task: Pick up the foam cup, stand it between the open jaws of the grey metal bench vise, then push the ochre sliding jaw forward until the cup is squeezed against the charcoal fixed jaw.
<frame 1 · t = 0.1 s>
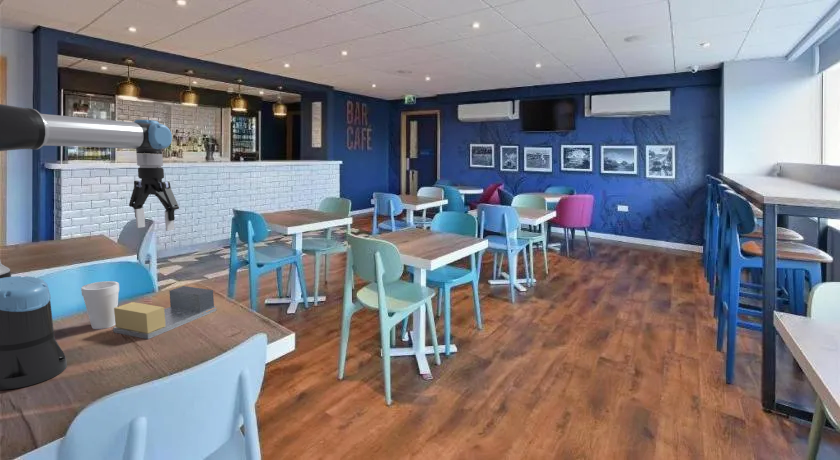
hand: (155, 228, 153), 28 cm above the table, tool pointing down, fingers open, 13 cm apart
vise: (173, 318, 146), on the table
foam cup: (104, 325, 139), on the table
sliding jaw: (140, 317, 134), point 5 cm above the table, slide at 2.5 cm
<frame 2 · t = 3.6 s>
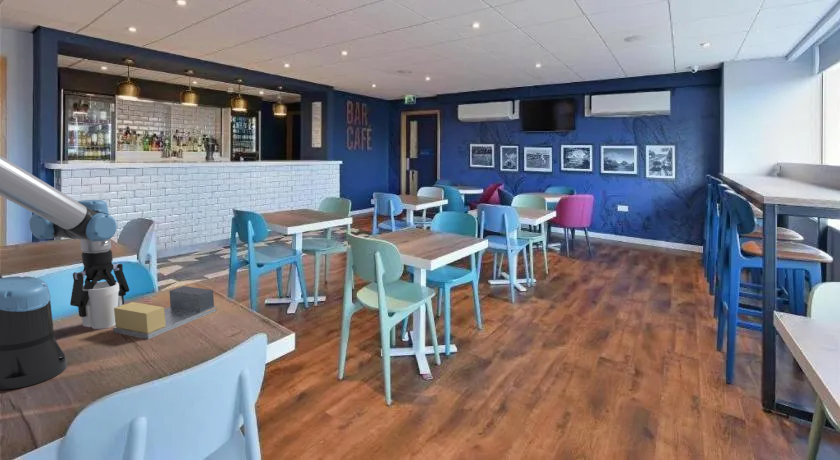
hand: (103, 320, 139), 2 cm above the table, tool pointing down, fingers closed on foam cup, 9 cm apart
foam cup: (104, 325, 139), on the table, touching gripper
everything else where it was.
when the fingers open (5 cm above the table, at t = 9.4 s): foam cup drops 2 cm, resting on vise.
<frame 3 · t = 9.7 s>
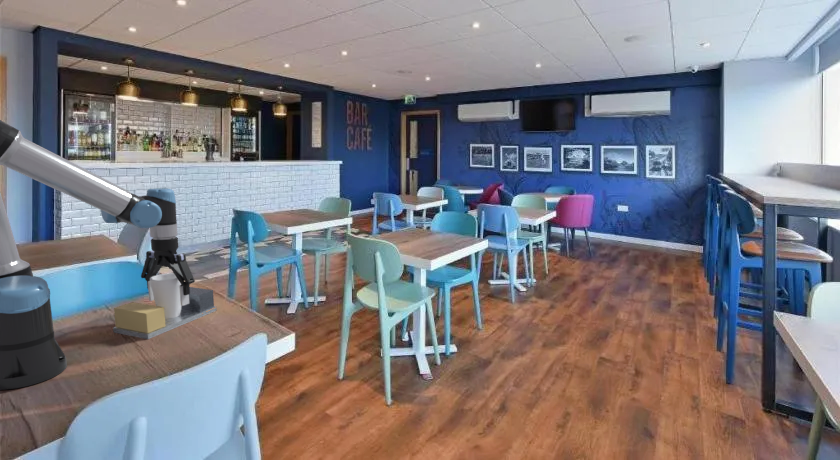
hand: (169, 302, 144), 6 cm above the table, tool pointing down, fingers open, 13 cm apart
foam cup: (170, 316, 145), point 1 cm above the table, touching vise
everything else where it was.
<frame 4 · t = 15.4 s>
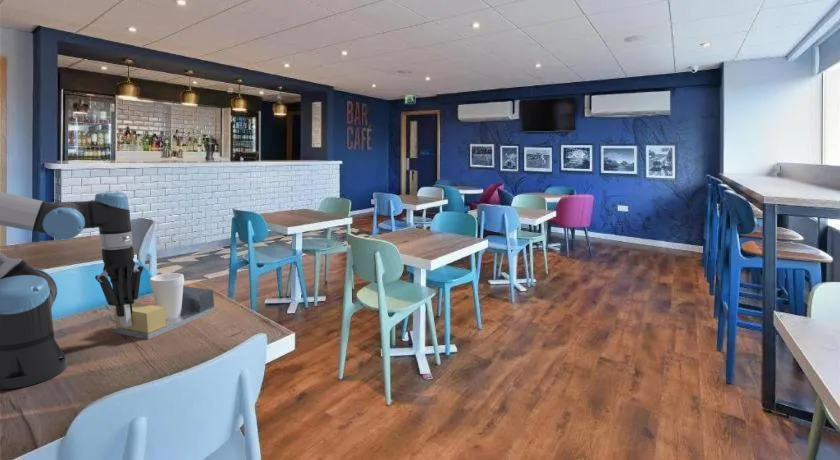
hand: (126, 325, 130), 4 cm above the table, tool pointing down, fingers closed
sliding jaw: (140, 317, 134), point 5 cm above the table, slide at 2.6 cm, touching gripper
everything else where it was.
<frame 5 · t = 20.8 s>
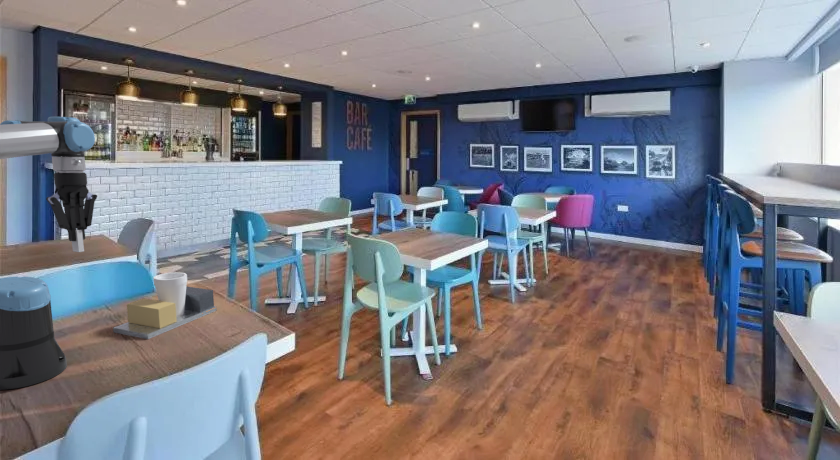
hand: (78, 251, 132), 24 cm above the table, tool pointing down, fingers closed
foam cup: (173, 314, 146), point 1 cm above the table, touching vise
sliding jaw: (151, 312, 138), point 5 cm above the table, slide at 6.5 cm
at the end: foam cup 0.8 cm from the target spot on the vise, point 1.3 cm above the vise's base; sliding jaw slide at 6.5 cm; foam cup tilted 0° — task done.
